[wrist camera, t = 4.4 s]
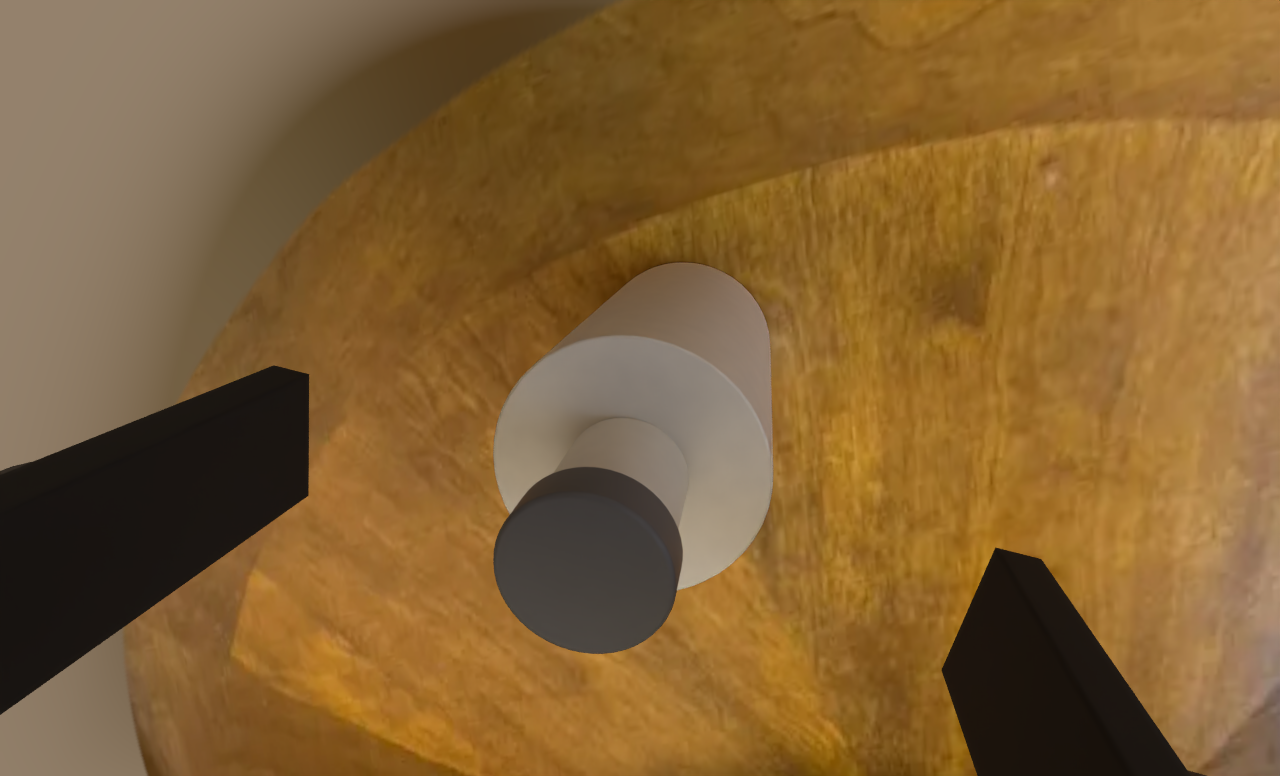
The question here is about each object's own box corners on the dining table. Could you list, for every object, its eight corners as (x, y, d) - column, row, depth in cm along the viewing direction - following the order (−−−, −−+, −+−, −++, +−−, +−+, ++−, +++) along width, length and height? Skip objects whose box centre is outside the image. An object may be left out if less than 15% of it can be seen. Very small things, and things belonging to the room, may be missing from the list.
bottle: (567, 351, 24) (341, 568, 11) (676, 224, 22) (548, 313, 9) (689, 457, 24) (606, 782, 12) (807, 344, 22) (862, 590, 9)
